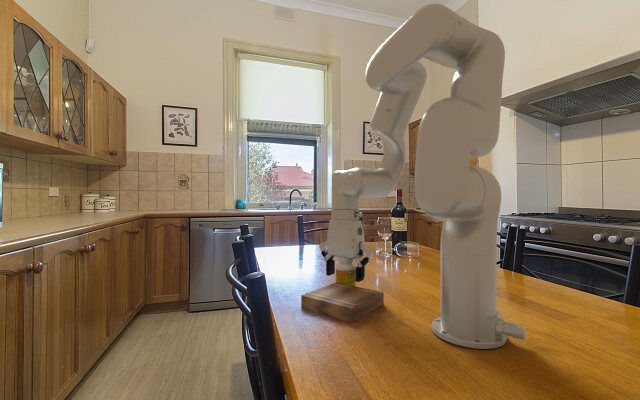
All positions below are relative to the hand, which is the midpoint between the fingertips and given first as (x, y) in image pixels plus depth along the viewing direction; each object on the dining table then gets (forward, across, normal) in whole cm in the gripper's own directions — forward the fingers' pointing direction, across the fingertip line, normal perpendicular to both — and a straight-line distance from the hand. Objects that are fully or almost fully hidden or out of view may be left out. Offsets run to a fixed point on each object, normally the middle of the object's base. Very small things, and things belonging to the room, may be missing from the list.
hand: (344, 277), depth 86 cm
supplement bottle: (+4, 0, 0) cm, 4 cm away
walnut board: (+4, -6, +10) cm, 13 cm away
